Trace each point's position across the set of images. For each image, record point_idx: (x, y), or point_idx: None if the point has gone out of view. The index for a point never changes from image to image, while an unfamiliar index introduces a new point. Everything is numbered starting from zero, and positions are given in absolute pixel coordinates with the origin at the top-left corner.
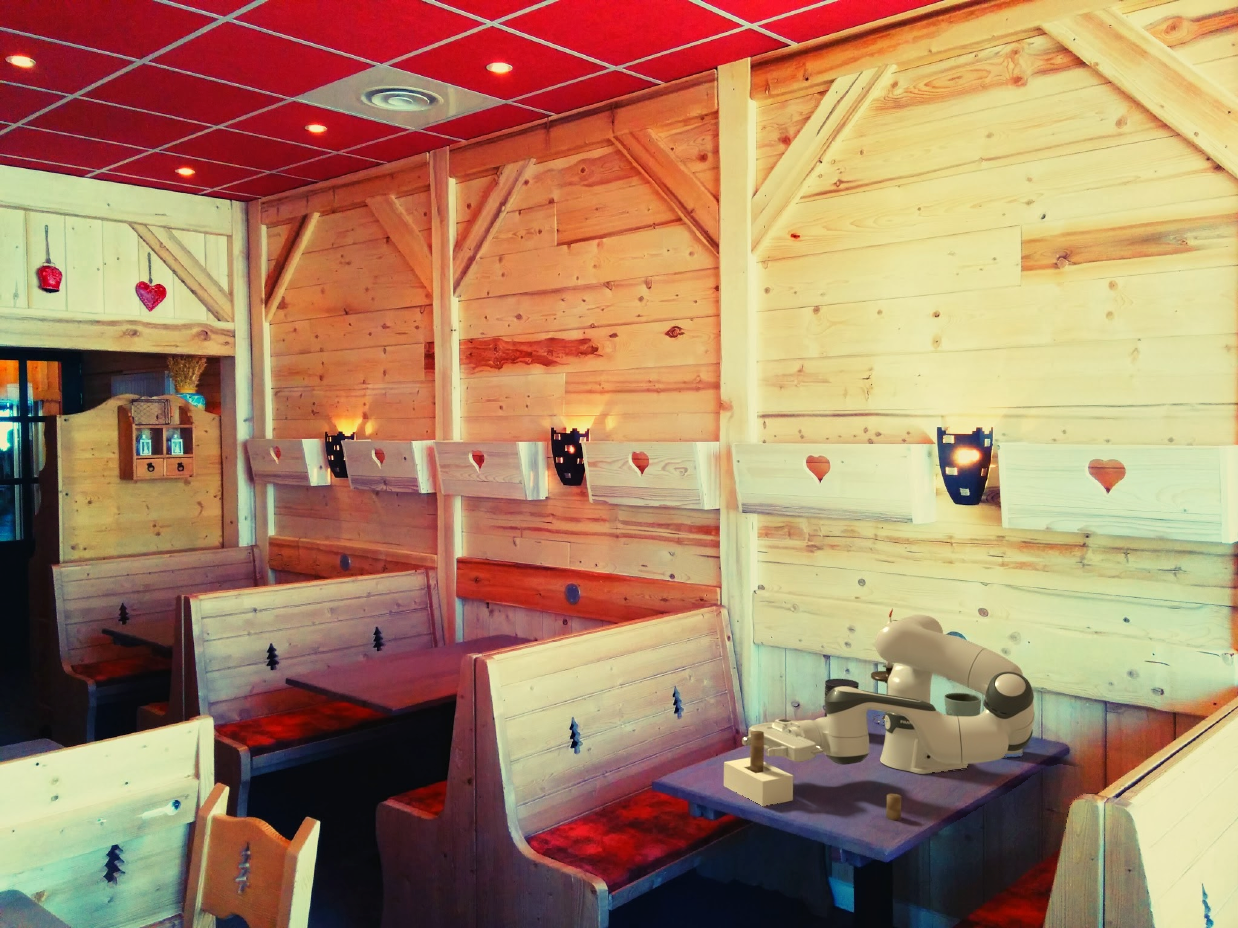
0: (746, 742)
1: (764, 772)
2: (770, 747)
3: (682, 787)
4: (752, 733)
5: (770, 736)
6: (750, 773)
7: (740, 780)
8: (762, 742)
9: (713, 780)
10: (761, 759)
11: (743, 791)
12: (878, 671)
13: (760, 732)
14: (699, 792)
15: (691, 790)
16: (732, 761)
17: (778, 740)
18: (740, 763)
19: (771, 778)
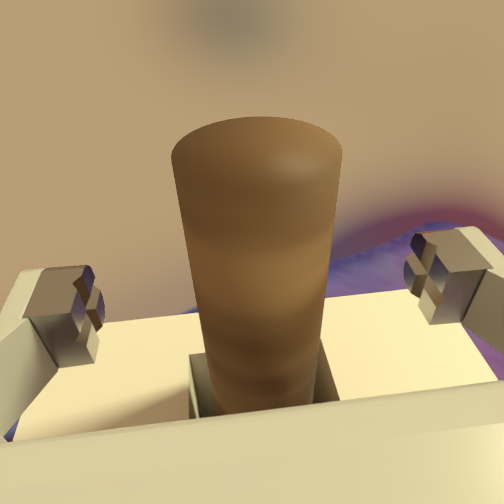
0: (416, 261)
1: (172, 414)
2: (61, 301)
3: (400, 245)
4: (244, 122)
5: (345, 416)
6: (200, 328)
7: None
8: (189, 258)
9: (486, 357)
10: (207, 362)
11: None
12: None
13: (241, 170)
14: (340, 269)
15: (365, 256)
16: (445, 327)
17: (88, 438)
18: (400, 353)
19: (49, 400)
